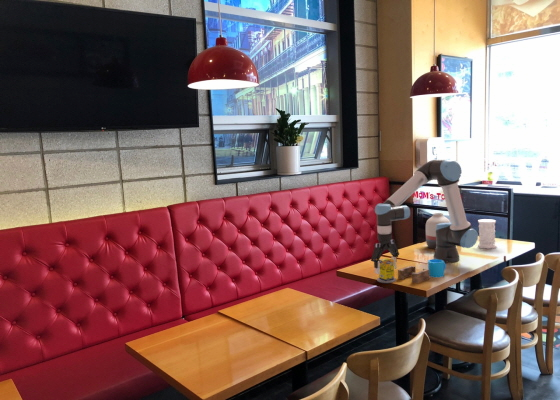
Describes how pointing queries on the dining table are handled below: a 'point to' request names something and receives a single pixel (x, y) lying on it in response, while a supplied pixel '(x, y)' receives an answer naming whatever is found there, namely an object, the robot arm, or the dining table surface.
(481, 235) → the decorative container
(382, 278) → the supplement box
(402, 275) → the pocket
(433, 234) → the vase
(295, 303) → the dining table surface
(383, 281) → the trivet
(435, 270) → the mug
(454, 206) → the robot arm
